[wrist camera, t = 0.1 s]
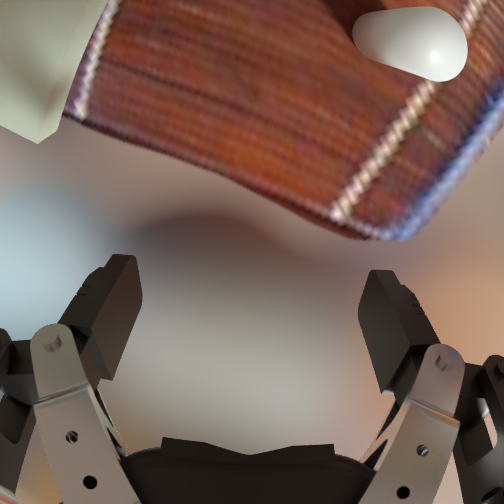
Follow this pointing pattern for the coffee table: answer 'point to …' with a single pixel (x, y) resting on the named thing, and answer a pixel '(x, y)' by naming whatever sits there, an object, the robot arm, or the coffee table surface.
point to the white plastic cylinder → (413, 41)
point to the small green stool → (41, 60)
